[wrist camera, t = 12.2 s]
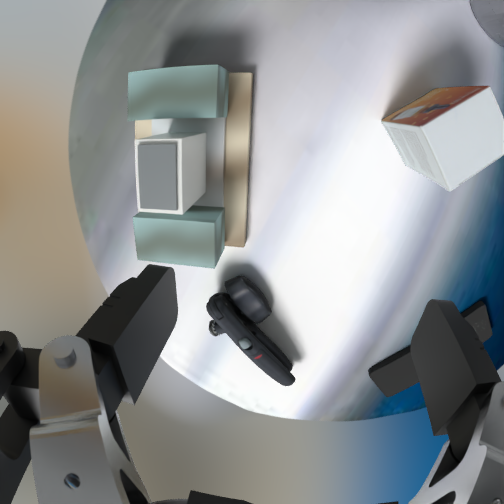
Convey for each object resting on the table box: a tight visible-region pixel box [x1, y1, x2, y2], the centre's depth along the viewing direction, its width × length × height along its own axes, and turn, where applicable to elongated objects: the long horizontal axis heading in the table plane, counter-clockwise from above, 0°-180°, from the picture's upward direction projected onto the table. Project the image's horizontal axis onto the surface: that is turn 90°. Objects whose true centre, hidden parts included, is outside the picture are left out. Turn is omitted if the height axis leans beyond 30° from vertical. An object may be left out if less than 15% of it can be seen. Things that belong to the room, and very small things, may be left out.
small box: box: [381, 86, 504, 192], centre depth 21 cm, size 8×6×10 cm
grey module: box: [135, 132, 207, 215], centre depth 25 cm, size 4×6×7 cm, turn 177°
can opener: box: [206, 276, 295, 386], centre depth 37 cm, size 18×7×6 cm, turn 30°
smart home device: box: [368, 301, 492, 397], centre depth 37 cm, size 8×2×20 cm
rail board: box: [128, 65, 253, 269], centre depth 27 cm, size 18×12×6 cm, turn 177°
